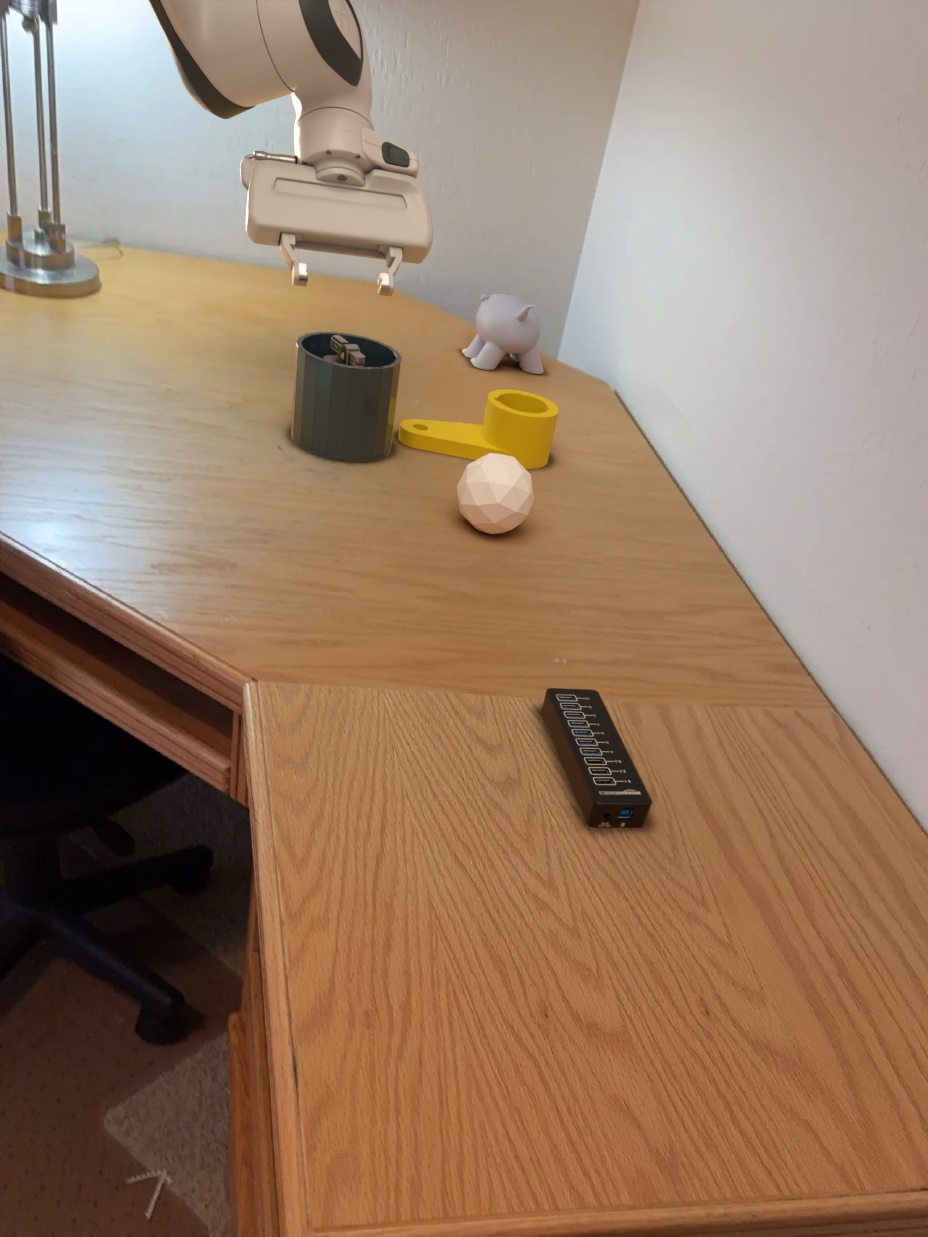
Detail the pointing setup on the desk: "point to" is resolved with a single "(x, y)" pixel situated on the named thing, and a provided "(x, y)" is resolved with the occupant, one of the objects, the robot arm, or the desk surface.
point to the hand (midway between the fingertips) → (343, 287)
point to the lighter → (345, 352)
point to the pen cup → (344, 399)
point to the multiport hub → (595, 759)
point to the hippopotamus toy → (505, 333)
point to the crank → (492, 430)
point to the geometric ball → (495, 493)
